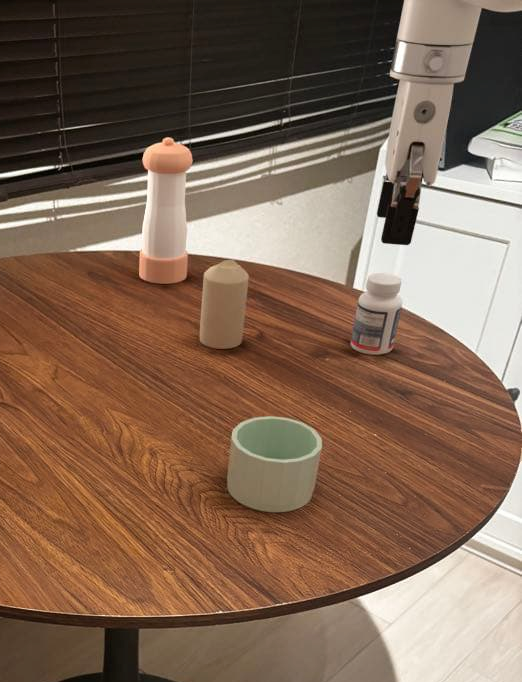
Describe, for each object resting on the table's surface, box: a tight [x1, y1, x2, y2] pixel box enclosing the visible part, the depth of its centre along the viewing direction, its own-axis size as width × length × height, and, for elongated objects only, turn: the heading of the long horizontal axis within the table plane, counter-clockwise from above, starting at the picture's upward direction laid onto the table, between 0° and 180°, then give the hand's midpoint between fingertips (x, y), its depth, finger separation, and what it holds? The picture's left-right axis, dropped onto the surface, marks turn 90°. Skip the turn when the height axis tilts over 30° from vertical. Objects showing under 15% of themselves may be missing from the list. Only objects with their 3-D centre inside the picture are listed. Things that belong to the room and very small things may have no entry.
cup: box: [226, 415, 323, 513], centre depth 76 cm, size 8×8×6 cm
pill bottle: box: [350, 272, 403, 356], centre depth 101 cm, size 5×5×9 cm
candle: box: [199, 259, 250, 350], centre depth 102 cm, size 6×6×10 cm
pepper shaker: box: [138, 136, 194, 285], centre depth 118 cm, size 7×7×19 cm
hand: (392, 229), depth 95 cm, fingers open, 9 cm apart
